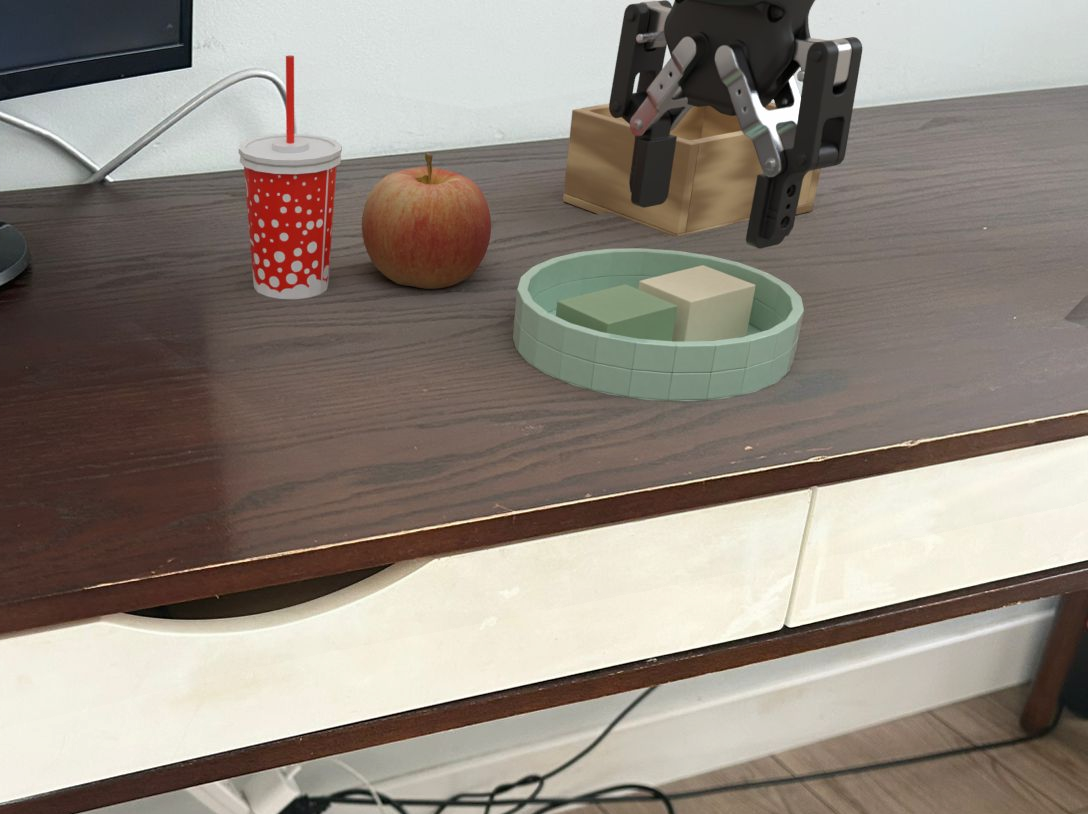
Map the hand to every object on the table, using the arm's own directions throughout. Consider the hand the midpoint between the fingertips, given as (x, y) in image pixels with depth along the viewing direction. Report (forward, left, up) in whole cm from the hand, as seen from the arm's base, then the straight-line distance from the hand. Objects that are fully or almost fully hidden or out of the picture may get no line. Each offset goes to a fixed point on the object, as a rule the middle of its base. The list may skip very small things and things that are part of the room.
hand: (703, 223), depth 75 cm
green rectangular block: (+6, 0, -6) cm, 9 cm away
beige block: (0, 0, -6) cm, 6 cm away
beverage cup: (+15, -19, -7) cm, 25 cm away
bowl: (+3, 0, -7) cm, 7 cm away
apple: (+7, -16, -7) cm, 19 cm away
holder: (-19, -19, -7) cm, 28 cm away
